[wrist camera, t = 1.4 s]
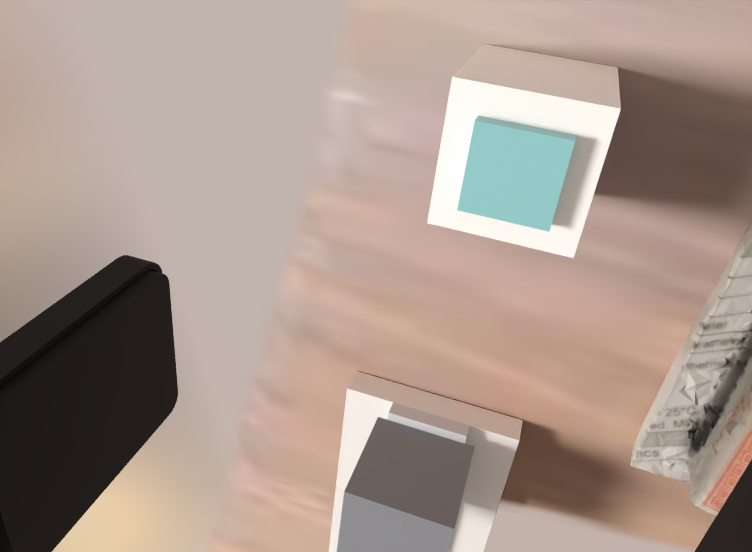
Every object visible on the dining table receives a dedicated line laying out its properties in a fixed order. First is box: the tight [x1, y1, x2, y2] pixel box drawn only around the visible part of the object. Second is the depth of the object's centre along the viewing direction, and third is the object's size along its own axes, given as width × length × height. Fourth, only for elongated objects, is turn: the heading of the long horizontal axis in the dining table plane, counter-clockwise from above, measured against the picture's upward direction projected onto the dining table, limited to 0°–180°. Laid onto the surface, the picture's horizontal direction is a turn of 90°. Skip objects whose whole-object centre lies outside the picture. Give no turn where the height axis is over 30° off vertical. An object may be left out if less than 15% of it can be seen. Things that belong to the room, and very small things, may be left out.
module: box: [427, 44, 621, 258], centre depth 22 cm, size 5×5×7 cm
